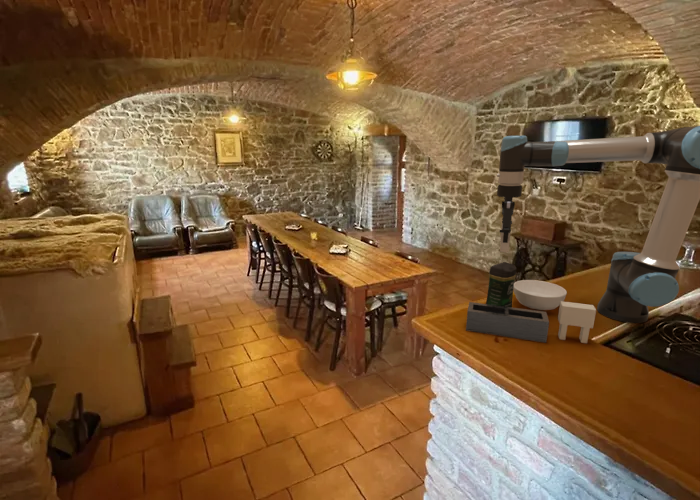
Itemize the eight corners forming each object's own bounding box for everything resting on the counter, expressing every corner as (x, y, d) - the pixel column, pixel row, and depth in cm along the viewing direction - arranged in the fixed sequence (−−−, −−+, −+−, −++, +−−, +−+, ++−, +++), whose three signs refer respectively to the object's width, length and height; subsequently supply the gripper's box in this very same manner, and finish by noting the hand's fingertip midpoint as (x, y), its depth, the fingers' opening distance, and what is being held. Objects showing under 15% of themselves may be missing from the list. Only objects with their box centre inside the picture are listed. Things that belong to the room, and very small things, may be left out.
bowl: (562, 320, 133) (565, 301, 131) (507, 309, 142) (509, 291, 141) (565, 302, 148) (568, 285, 146) (515, 293, 157) (517, 277, 155)
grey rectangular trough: (543, 331, 125) (546, 311, 123) (546, 342, 118) (549, 322, 116) (467, 320, 133) (469, 301, 131) (465, 330, 126) (467, 311, 124)
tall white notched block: (587, 338, 120) (593, 305, 117) (589, 344, 117) (596, 310, 114) (555, 333, 123) (560, 301, 120) (557, 339, 120) (562, 305, 117)
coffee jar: (502, 319, 134) (507, 269, 129) (481, 312, 140) (486, 264, 135) (515, 311, 140) (520, 263, 135) (495, 305, 146) (499, 259, 141)
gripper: (498, 181, 137) (493, 237, 143) (497, 188, 115) (491, 255, 121) (521, 181, 135) (515, 239, 140) (524, 188, 112) (517, 257, 118)
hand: (504, 246), depth 130 cm, fingers open, 13 cm apart
